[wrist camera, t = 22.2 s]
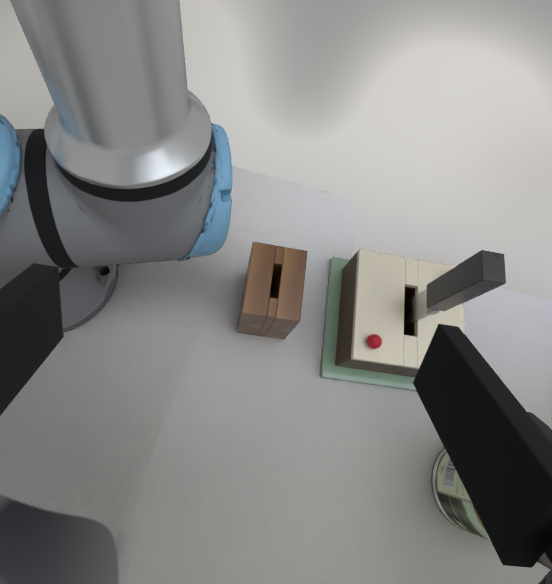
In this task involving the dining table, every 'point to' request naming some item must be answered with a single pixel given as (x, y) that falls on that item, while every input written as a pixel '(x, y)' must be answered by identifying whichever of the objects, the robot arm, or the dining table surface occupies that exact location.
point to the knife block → (272, 291)
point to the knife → (457, 286)
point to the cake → (387, 313)
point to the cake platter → (331, 341)
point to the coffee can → (459, 500)
